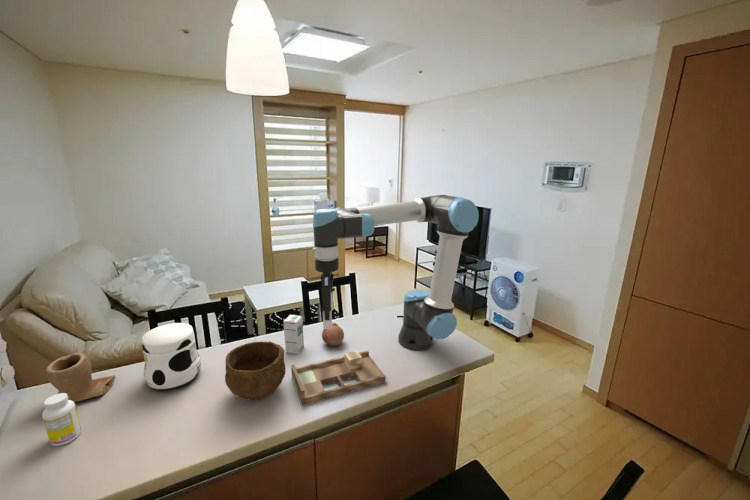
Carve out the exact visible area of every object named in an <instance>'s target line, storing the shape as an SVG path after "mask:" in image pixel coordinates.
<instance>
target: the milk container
mask: <svg viewBox="0 0 750 500" xmlns="http://www.w3.org/2000/svg"><path fill="white" fill-rule="evenodd" d="M141 347H142V355H143V358H144V366H143V378H144V380H145V383H146V384H147V386H149V387H150V388H151V389H155V390H162V391H163V390H165V391H166V390H172V389H176V388H179V387H181V386H184V385H186V384H188V383H189V382H191V381H192V380H193V379H195V378H196V377H197V376H198V375H199V372H200V370H201V367H202V366H201V365H202V361H201V356H200V353H199V352H198V349H197V344H196V337H195V332H194V328H193V326H192V325H190V324H189V323H184V322H173V323H166V324H162V325H159V326H156V327H155V328H152V329H150V330H148V331H147V332H145V333H144V335H143V336H141Z"/></svg>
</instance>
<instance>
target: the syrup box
mask: <svg viewBox="0 0 750 500" xmlns="http://www.w3.org/2000/svg"><path fill="white" fill-rule="evenodd" d="M303 326H304V322H303V316H302V315H297V314H289V315H288V317H286V318H285V319H284V320H283V332H284V333H283V334H284V335H283V336H284V347H285V349H284V350H285V353H288V354H294V355H299V354H300V353H301V352H302V350H303V349H304V348H305V344H304V342H305V341H304V339H305V338H304V327H303Z"/></svg>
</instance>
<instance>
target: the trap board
mask: <svg viewBox="0 0 750 500" xmlns="http://www.w3.org/2000/svg"><path fill="white" fill-rule="evenodd" d="M359 354H360V355H361V356H362V367H359V368H355V369H351V370H349V369H348V367H347V366H346V364H345V355H343V356H340V357H339V356H338V357H336V358H335V357H334V358H331V359H330V358H329V359H327V360H322V361H318V362H313V363H309V364H305V365H302V366H297V367H296V365H295V364H291V365H290V366H291V380H292V382H293V385H294V388H295V391H296V393H297V395H298V396H297V397H298V399H299V402H300V404H301V407H303V406H307V405H311V404H313V403H317V402H321V401H324V400H327V399H332V398H334V397H338V396H343V395H346V394H349V393H352V392H356V391H359V390H363V389H366V388H370V387H373V386H377V385H381V384H384V383H386V379H387V376H386V374H385V373H384V372H383V371H382V370H381V368H380V367H379V366H378V365H377V363H376V362H375V361H374V360H373V358H372V357H371V356H370V351H369V350H365V351H361V352H359ZM353 378H355V380H356V381H355V382H352V383H348V384H345V383H344V381H346V380H350V379H353ZM335 383H336V384H337V387H334V388H330V389H327V390H325V388H324V386H327V385H331V384H335Z"/></svg>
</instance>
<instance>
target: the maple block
mask: <svg viewBox="0 0 750 500" xmlns="http://www.w3.org/2000/svg"><path fill="white" fill-rule="evenodd" d="M359 353H360V352H359V351H358V350H352V351H349V352H345V353H344V356H345V364H346V366H347V367H348V369H349V370H351V369H355V368H359V367H362V356H361V355H360V354H359Z"/></svg>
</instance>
